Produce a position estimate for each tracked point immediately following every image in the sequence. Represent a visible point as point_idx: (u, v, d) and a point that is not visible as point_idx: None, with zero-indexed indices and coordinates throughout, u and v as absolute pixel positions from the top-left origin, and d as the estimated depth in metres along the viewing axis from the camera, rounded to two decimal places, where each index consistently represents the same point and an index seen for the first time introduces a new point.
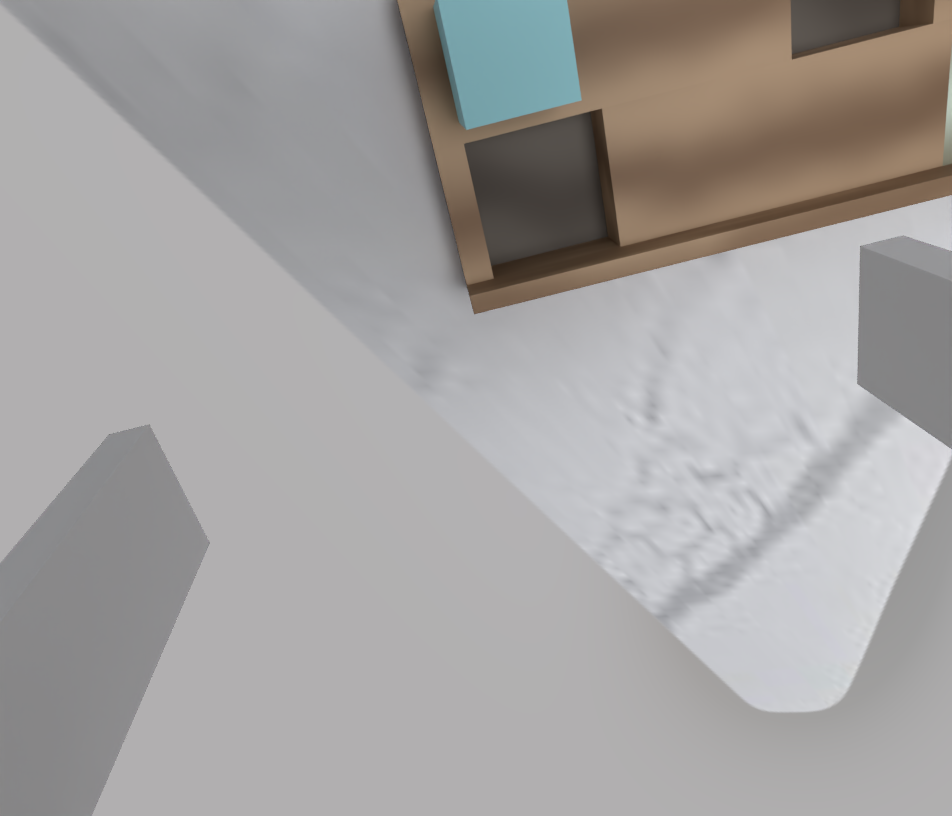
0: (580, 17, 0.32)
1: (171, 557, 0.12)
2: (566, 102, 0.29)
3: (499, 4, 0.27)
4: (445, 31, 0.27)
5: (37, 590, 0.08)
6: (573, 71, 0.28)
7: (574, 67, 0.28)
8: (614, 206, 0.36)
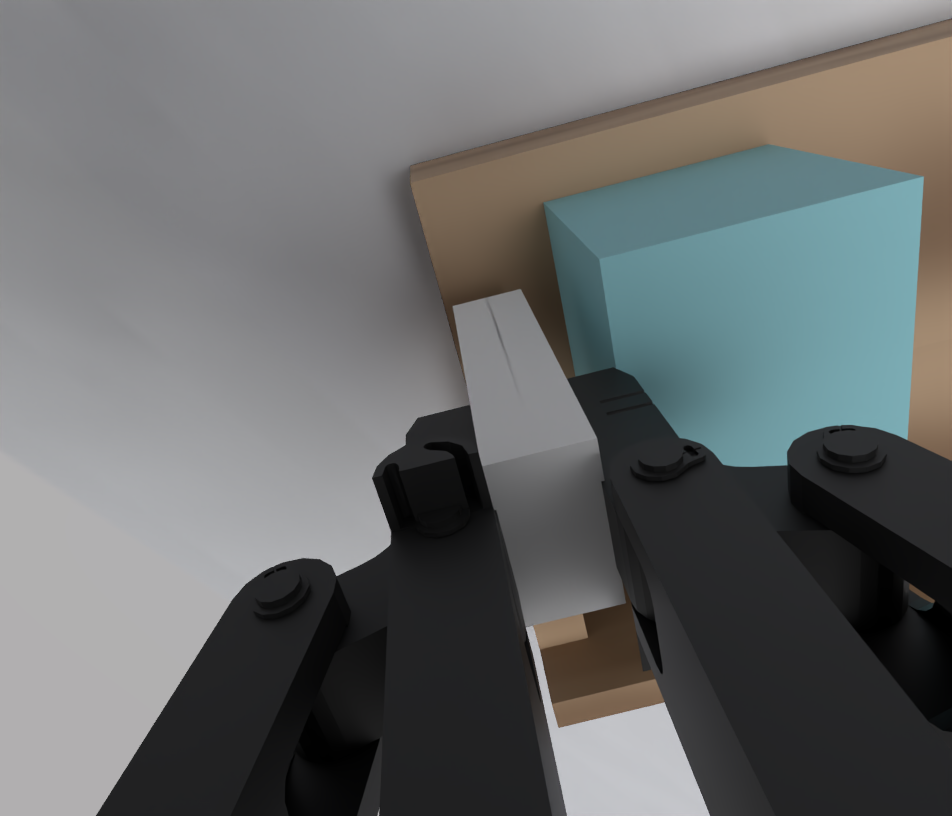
0: None
1: None
2: None
3: (752, 272, 0.11)
4: (612, 333, 0.11)
5: None
6: (901, 401, 0.12)
7: (904, 393, 0.12)
8: None
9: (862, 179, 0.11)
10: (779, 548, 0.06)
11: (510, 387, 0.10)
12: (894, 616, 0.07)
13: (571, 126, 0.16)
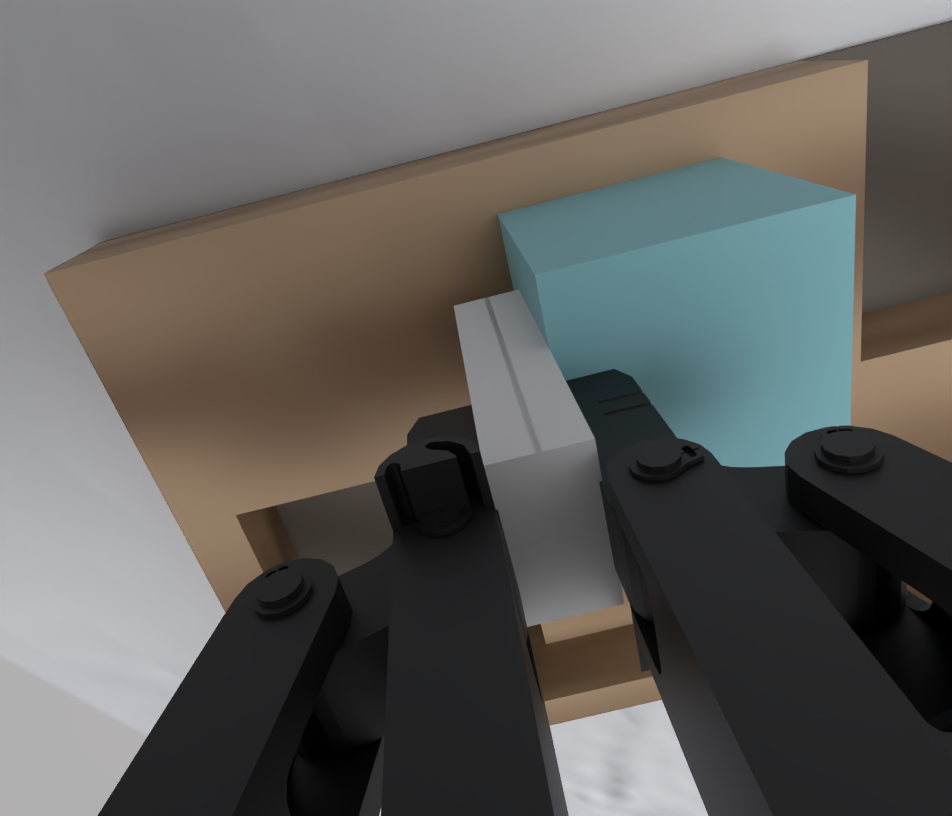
0: (439, 307, 0.16)
1: None
2: None
3: (689, 288, 0.11)
4: (551, 347, 0.11)
5: None
6: (841, 415, 0.12)
7: (845, 408, 0.12)
8: None
9: (798, 196, 0.11)
10: (777, 548, 0.06)
11: (508, 387, 0.10)
12: (892, 616, 0.07)
13: (242, 210, 0.17)
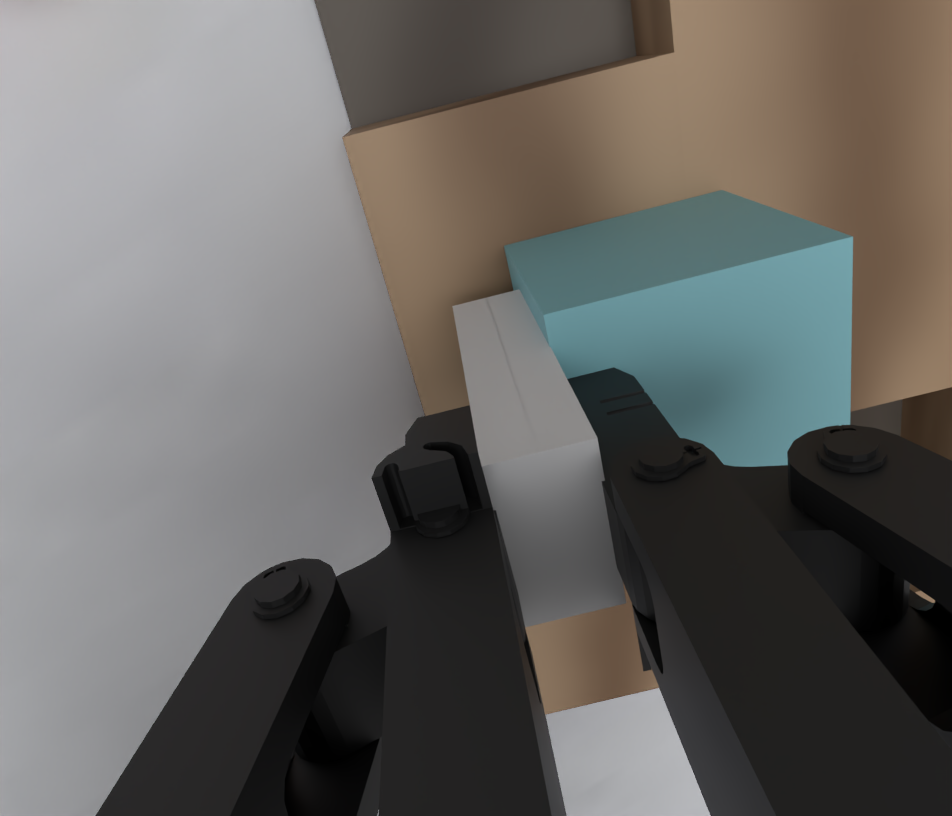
0: None
1: None
2: (848, 277, 0.11)
3: None
4: None
5: None
6: (781, 265, 0.11)
7: (772, 263, 0.11)
8: None
9: None
10: (779, 548, 0.06)
11: (510, 387, 0.10)
12: (894, 616, 0.07)
13: None
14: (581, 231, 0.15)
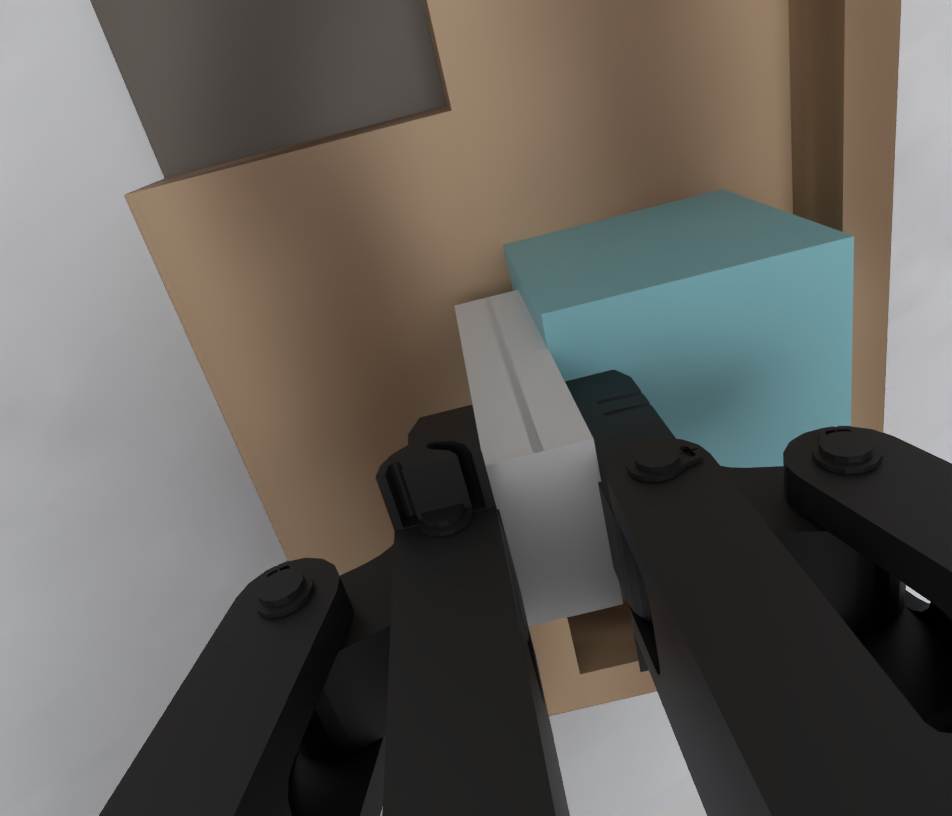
0: (393, 539, 0.18)
1: None
2: (849, 276, 0.11)
3: None
4: None
5: None
6: (781, 264, 0.11)
7: (772, 262, 0.11)
8: None
9: (540, 333, 0.12)
10: (776, 548, 0.06)
11: (507, 388, 0.10)
12: (890, 617, 0.07)
13: None
14: (581, 231, 0.15)
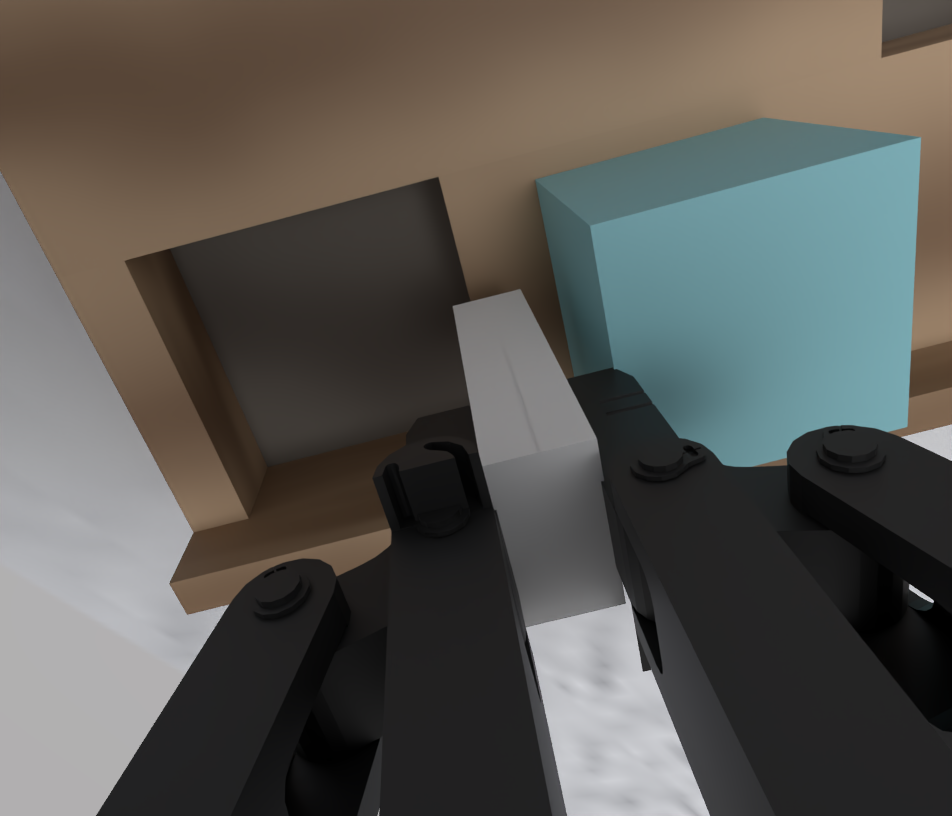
0: None
1: None
2: None
3: (747, 239, 0.11)
4: (604, 303, 0.11)
5: None
6: (900, 372, 0.12)
7: (904, 364, 0.12)
8: None
9: (858, 143, 0.11)
10: (779, 548, 0.06)
11: (510, 387, 0.10)
12: (894, 616, 0.07)
13: None
14: None
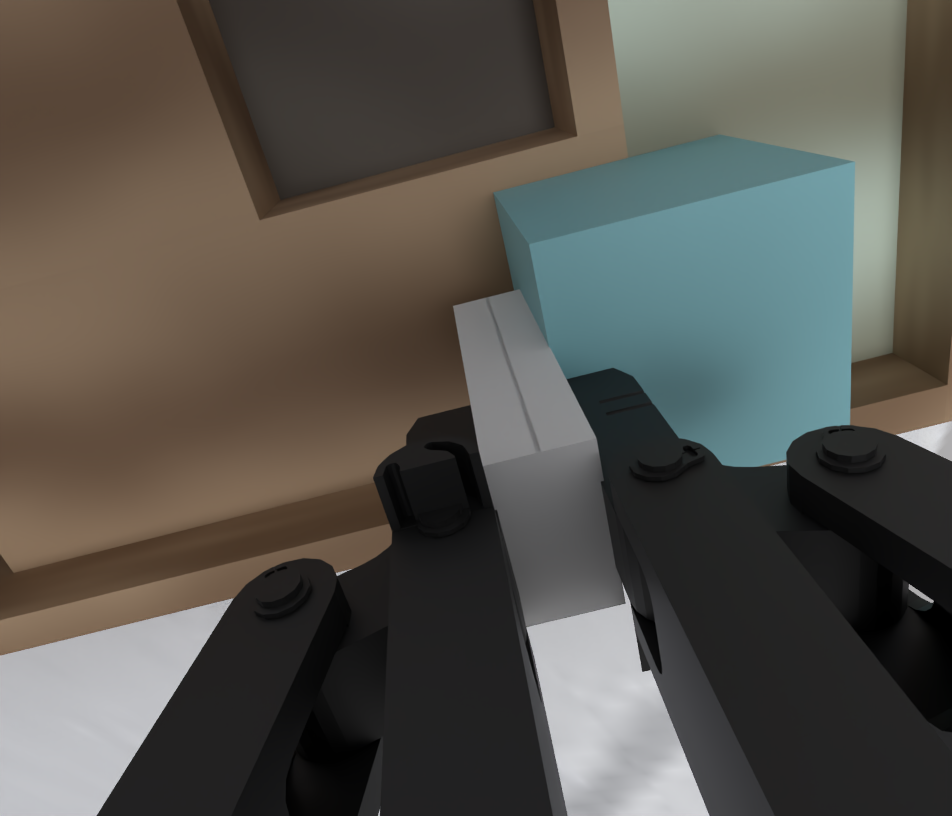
0: None
1: None
2: None
3: (685, 258, 0.11)
4: (545, 319, 0.11)
5: None
6: (841, 390, 0.12)
7: (845, 382, 0.12)
8: None
9: (797, 165, 0.11)
10: (778, 548, 0.06)
11: (510, 387, 0.10)
12: (893, 616, 0.07)
13: None
14: None
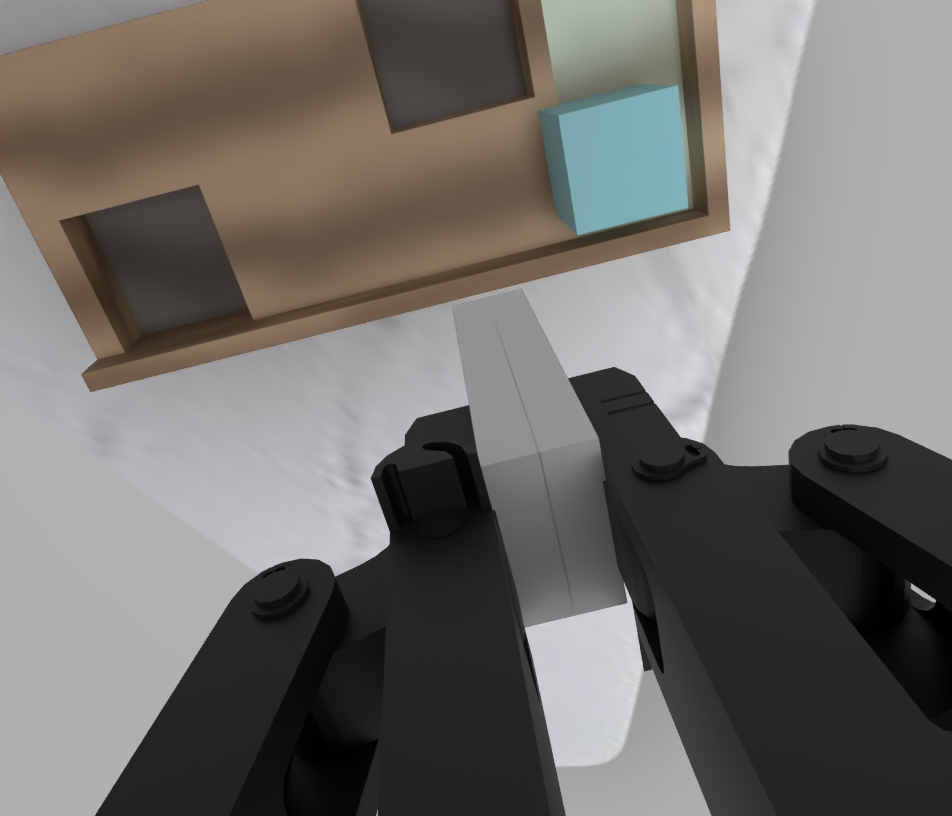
0: (152, 94, 0.31)
1: None
2: (673, 209, 0.30)
3: (616, 122, 0.28)
4: (564, 147, 0.29)
5: None
6: (682, 182, 0.30)
7: (683, 178, 0.30)
8: None
9: (659, 88, 0.28)
10: (781, 548, 0.06)
11: (511, 387, 0.10)
12: (895, 616, 0.07)
13: None
14: None
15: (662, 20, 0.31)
